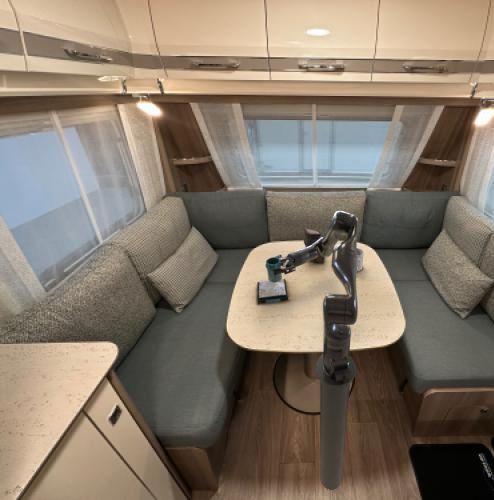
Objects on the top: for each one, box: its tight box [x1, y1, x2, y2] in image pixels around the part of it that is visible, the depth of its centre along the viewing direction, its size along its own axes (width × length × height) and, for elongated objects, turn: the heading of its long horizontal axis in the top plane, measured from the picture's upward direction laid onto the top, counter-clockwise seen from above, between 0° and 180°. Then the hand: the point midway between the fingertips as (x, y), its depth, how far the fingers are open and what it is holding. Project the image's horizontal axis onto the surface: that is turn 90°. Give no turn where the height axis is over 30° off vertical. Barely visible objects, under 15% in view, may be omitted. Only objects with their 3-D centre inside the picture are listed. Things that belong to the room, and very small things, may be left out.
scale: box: [256, 278, 289, 305], centre depth 137 cm, size 16×15×3 cm
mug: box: [357, 247, 364, 272], centre depth 153 cm, size 12×8×11 cm
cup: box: [265, 256, 283, 283], centre depth 126 cm, size 7×7×10 cm
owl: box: [303, 227, 325, 264], centre depth 161 cm, size 13×13×20 cm
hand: (269, 269), depth 125 cm, fingers closed on cup, 6 cm apart
